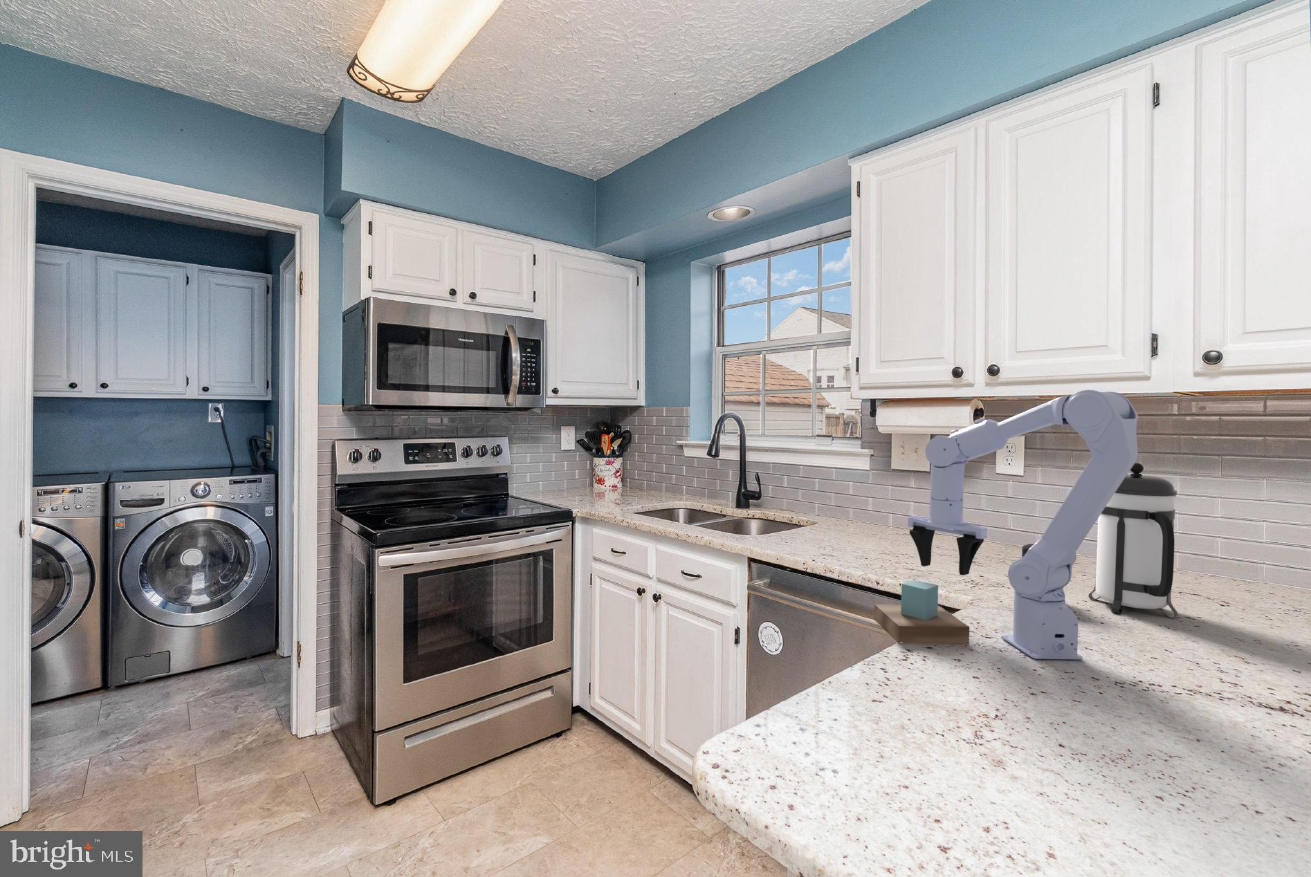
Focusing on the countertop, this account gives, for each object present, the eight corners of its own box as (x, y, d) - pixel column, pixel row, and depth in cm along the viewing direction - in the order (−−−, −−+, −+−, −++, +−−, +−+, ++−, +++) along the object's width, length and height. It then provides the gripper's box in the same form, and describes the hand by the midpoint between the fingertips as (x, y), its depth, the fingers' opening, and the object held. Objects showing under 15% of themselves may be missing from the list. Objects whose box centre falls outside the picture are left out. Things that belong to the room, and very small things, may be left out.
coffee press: (1068, 603, 126) (1073, 461, 125) (1109, 593, 134) (1114, 459, 133) (1168, 629, 111) (1175, 468, 110) (1209, 617, 118) (1215, 465, 117)
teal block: (937, 615, 109) (938, 585, 108) (925, 620, 106) (925, 589, 106) (913, 609, 112) (914, 579, 112) (900, 613, 109) (901, 583, 109)
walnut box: (968, 647, 103) (969, 626, 103) (898, 646, 103) (898, 625, 103) (937, 623, 115) (937, 605, 115) (874, 622, 115) (874, 604, 115)
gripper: (996, 502, 111) (994, 575, 111) (922, 493, 123) (921, 559, 123) (976, 505, 107) (974, 580, 107) (902, 495, 119) (900, 563, 119)
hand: (944, 569), depth 115 cm, fingers open, 7 cm apart
